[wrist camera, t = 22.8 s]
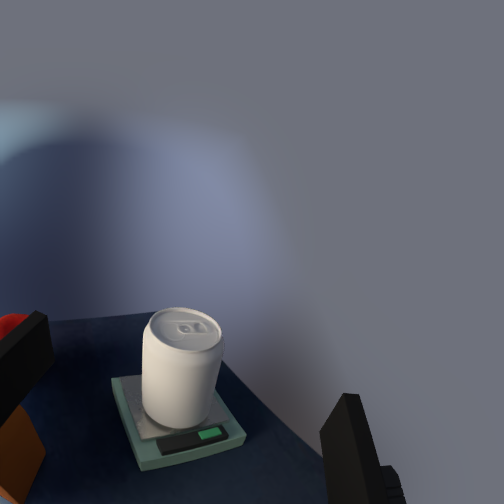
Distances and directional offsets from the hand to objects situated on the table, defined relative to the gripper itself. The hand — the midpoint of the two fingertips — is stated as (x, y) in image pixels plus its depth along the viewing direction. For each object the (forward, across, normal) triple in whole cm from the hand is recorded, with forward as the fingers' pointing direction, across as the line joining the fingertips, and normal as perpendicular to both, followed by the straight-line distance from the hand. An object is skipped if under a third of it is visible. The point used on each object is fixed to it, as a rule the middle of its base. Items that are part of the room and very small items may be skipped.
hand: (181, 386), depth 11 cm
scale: (+15, -3, -23) cm, 27 cm away
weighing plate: (+16, -3, -20) cm, 26 cm away
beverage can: (+15, -3, -20) cm, 25 cm away
